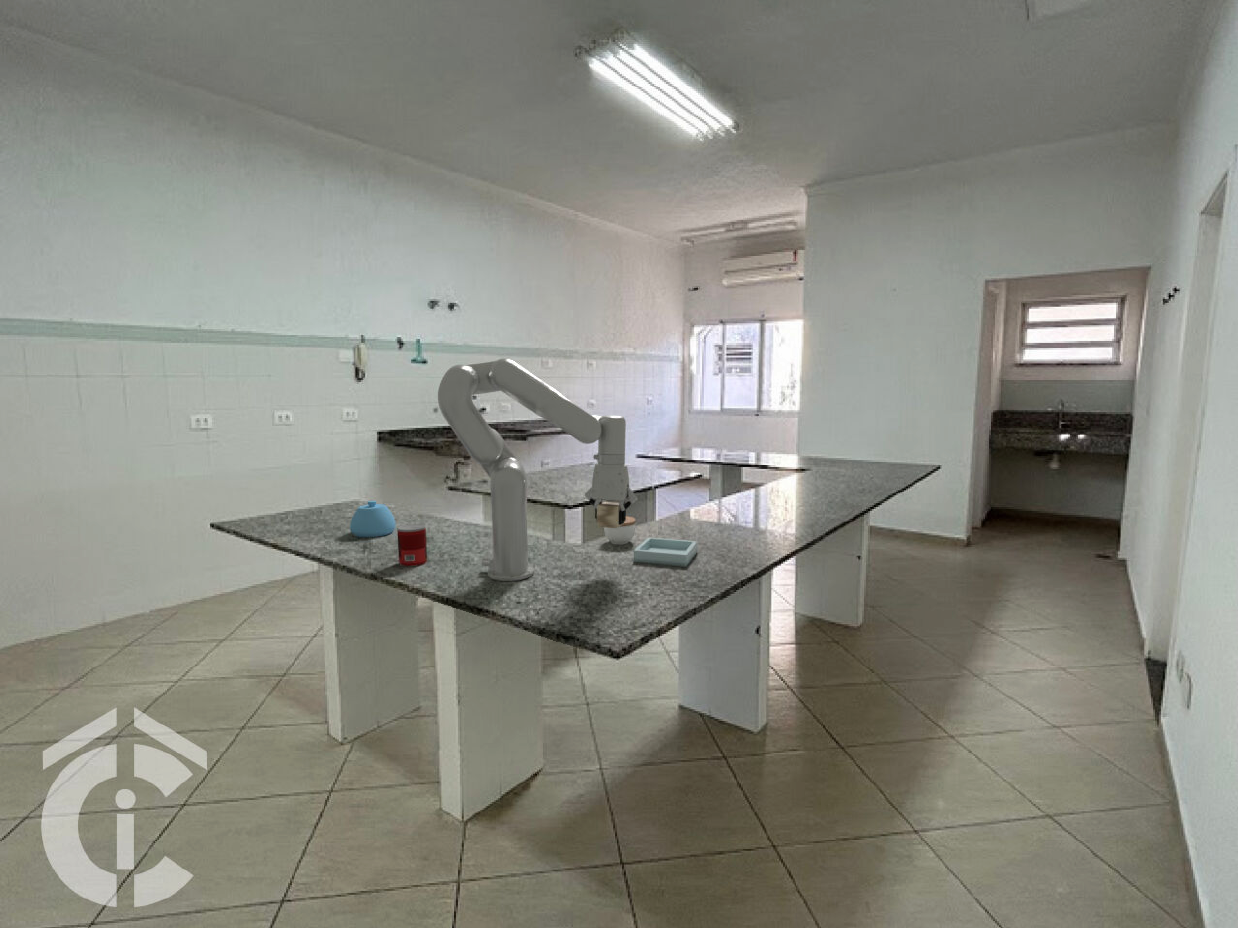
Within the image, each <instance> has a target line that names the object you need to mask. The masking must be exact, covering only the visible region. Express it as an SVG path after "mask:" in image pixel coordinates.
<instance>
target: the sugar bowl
mask: <svg viewBox="0 0 1238 928" xmlns="http://www.w3.org/2000/svg"><path fill="white" fill-rule="evenodd" d="M366 503H367V504H364V505H361V506H358V508H357V509H356V511H355V512H354V513H353V516H352V517H351V520H350V526H349V530H350V532H351V533H352V534H353V535H354V536H355V537H357V538H376V537H377V538H378V537H382V536H383V537H385V536H386V535H390V534H392V533H393V531H394V530H395V529H396V525H397V524H396V520H395V517H394V515H393V512H391V510H390V509H389V508H388V507H387V505H385V504H383V503H377V500H368V501H367V502H366Z"/></svg>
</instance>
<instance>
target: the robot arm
mask: <svg viewBox="0 0 1238 928" xmlns="http://www.w3.org/2000/svg"><path fill="white" fill-rule="evenodd" d="M495 392H502V393H503V394H505V395H506V396H508V397H509V398H511V399H513V400H514V401H516V402H517V403H518V404H520V405H521V406H523V407H524V408H526V409H527V410H528V411H531V412H532V413H534V414H535V415H537V417H540V418H542V419H545V420H546V421H548V422H550V423H552V424H553V425H555V427H557V428H559V429H561V430H562V431H563V432H564V433H566V434H568V435H569V436H571V437H573V438H574V439H576V440H577V441H578V442H581V444H586V445H590V444H593V443H596V442H597V441H598V442H597V445H598V446H597V447H598V449H597V454H594V455H593V460H596V462H597V463H595V464H594V468H593V474H592V479H591V487H590V488H589V489H588V490H587V491H586V492H585V493H584V496H585V497H586V499H587V500H588V501H589V503H590V504H591V505H592V507H593V508H594V510H595V511H594V518H595V521H596V523H597V505H599V504H601V503H603V502H604V501H605V502H617V503H619V506H620V511H619V525H621V524H623V523H624V521H625V520H626V516H627V509H629V507H631V505H632V504H634V503H635V502H636V501H637V500H638V496H637V495H635V493H634V492H633V491H632V489H631V488H630V477H629V469H628V465H627V464H625V463H626V461H625V460H626V418H625V417H624V416H621V415H602V416H601V415H599V416H598V415H592V414H590V413H589V412H588V411H585V410H584V409H583V408H581V407H580V406H578V405H577V404H576V403H574V402H572V401H571V400H569V399H568V398H566V397H565V396H564V395H562V393H560V392H559V391H558V390H556V389H555V388H554V387H552V386H551V385H550V384H548V383H547V382H545V381H544V380H542V379H540V378H539V377H537V376H536V375H535V374H533V373H531V372H530V371H529V370H528V369H526V368H525V367H523V366H521V365H520V364H519V363H517V362H516V361H514V360H512V359H510V358H506V357H505V358H504V357H503V358H500V359H497V360H494V361H488V362H478V363H472V364H457V365H452V366H451V367H450V368H449V369H448V370H447V371H445V373H444V375H443V376H442V379H441V381H440V383H439V386H438V391H437V402H438V406H439V410H440V412H441V414H442V417H443V418H444V420H446V423H447V424H448V425H449V426H450V428H451V430H452V431H453V432H454V434H455V436H456V437H457V438H458V440H459V441H460V442H461V444H462V446H463V447H464V448H465V450H466V451H467V452H468V454H469V456H470V457H471V458H472V460H474V461H475V462H477V463H479V465H480V466H481V467H482V469H483V470H484V472H485V473H486V474H487V476H488V477H489V478H490V481H489V482H490V501H491V502H490V503H491V526H492V527H491V530H492V532H491V533H492V557H489V556H483V557H482V561H481V566H485V567H489V569H488V570H487V576H488V578H490V579H492V580H494V581H495V580H496V581H499V582H503V581H504V582H513V581H519V580H521V581H522V580H525V579H528V578H531V577H532V576H533V575H534V574H535V572H534V571H535V569H534V567H533V566H531V565H529V548H528V546H529V545H528V544H529V543H528V541H529V539H528V511H527V510H528V509H527V508H528V506H527V505H528V504H527V503H528V500H527V498H528V494H527V492H528V481H527V480H528V479H527V474H526V471H525V469H524V465H522V463H521V462H520V460H519V459H518V457H517V456H516V455H515V454H514V452H513V451H512V449H511V448H510V447H509V445H508V444H507V442H506V441H505V440H504V438H503V436H502V435H501V434H500V433H499V432H498V431H497V430H496V429H495V428H493V427H491V426H490V425H489V424H488V423H487V421H486V420H485V418H484V417H483V415H482V414H481V412H480V411H479V410H478V408H477V407H476V405H475V404H474V402H473V398H472V396H475V395H482V394H483V395H484V394H489V393H495ZM626 499H629V500H628V501H626Z"/></svg>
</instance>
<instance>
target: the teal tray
mask: <svg viewBox="0 0 1238 928" xmlns="http://www.w3.org/2000/svg"><path fill="white" fill-rule="evenodd" d="M697 553H698V541H697V540H686V539H672V538H661V537H646V538H645V540H643V541H642V542H641V543H640V544H639V545H638V546H636V548H635V549H634V550H633V562H634V563H641V564H643V563H644V564H654V565H665V566H673V567H674V566H675V567H684V568H685V567H688V566H689V564H690V563H691V562H692V560H693V558H695V556H696V555H697Z"/></svg>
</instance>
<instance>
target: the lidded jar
mask: <svg viewBox="0 0 1238 928" xmlns="http://www.w3.org/2000/svg"><path fill="white" fill-rule="evenodd" d="M636 522H637V520H636V519H635V517H632V516H627V515H626V520H625V521H624V524H623V525H621V526H620V527H618V528H608V527H603V530H604V534H605V537H606V539H607V540H608V542H609V541H610V543H611V544H613V545H626V544H629V543H630V541H631V540H632V539H633V538H634V536H635V533H636V532H635V531H636Z"/></svg>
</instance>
